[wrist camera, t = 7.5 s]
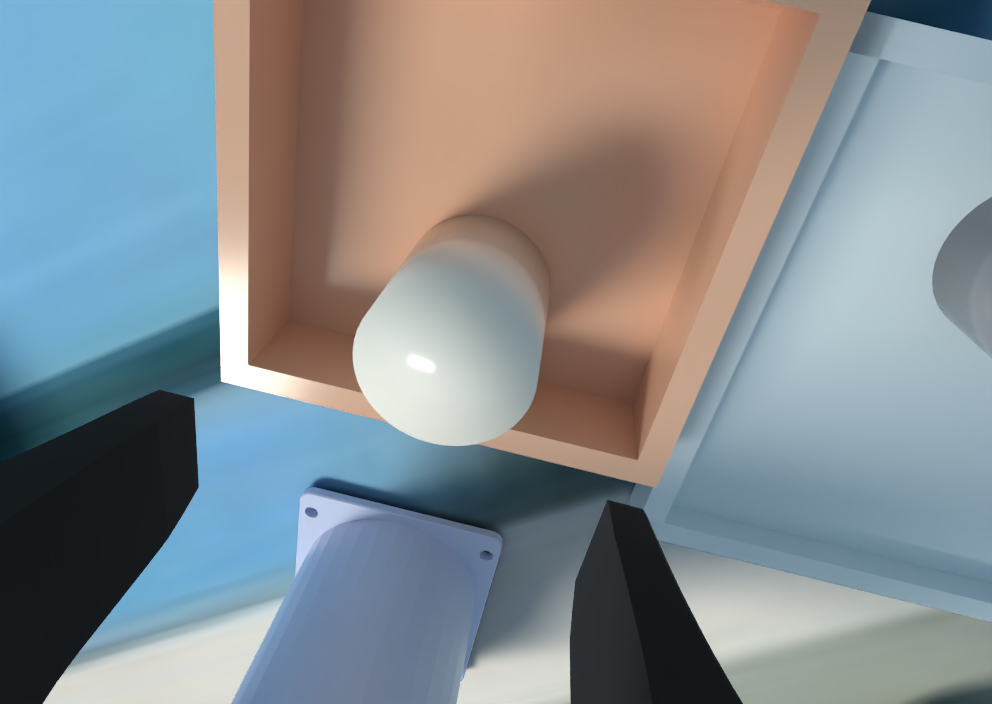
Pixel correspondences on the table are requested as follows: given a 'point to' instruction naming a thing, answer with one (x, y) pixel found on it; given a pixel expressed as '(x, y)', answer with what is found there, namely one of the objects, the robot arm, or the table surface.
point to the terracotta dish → (514, 185)
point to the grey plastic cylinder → (968, 276)
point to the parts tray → (856, 349)
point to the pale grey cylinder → (457, 333)
